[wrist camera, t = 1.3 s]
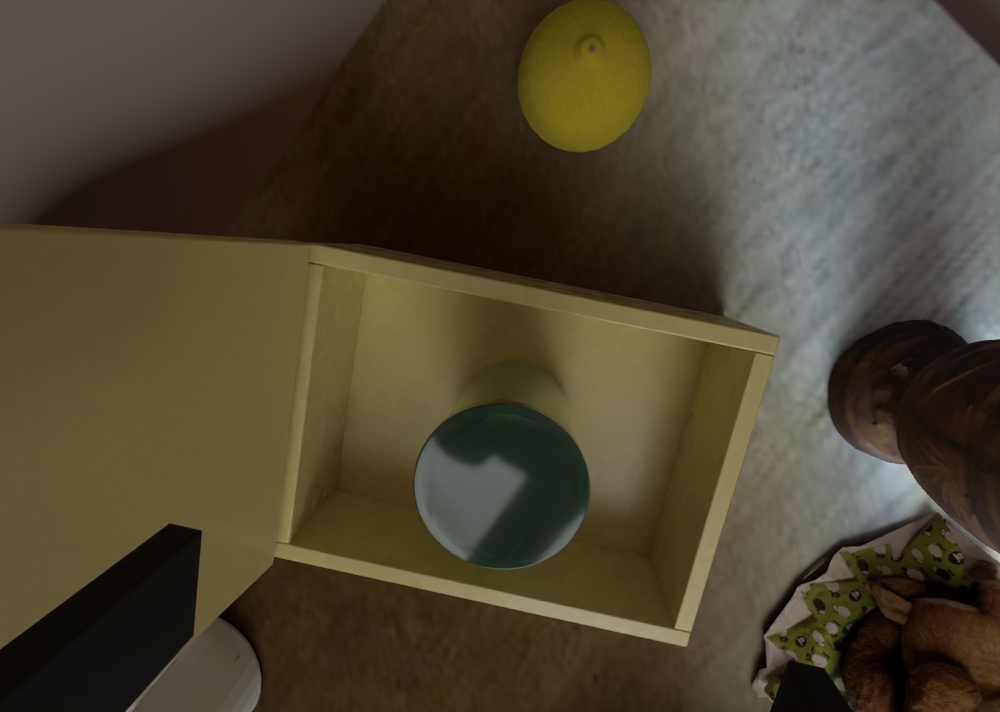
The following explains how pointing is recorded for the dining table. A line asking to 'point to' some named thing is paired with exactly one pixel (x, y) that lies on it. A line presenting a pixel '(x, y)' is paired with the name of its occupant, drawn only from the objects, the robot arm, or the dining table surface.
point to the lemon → (584, 75)
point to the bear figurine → (898, 624)
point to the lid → (141, 405)
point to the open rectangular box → (594, 416)
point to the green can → (504, 470)
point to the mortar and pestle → (928, 415)
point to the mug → (207, 676)
